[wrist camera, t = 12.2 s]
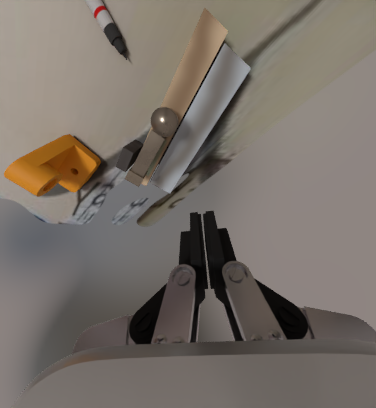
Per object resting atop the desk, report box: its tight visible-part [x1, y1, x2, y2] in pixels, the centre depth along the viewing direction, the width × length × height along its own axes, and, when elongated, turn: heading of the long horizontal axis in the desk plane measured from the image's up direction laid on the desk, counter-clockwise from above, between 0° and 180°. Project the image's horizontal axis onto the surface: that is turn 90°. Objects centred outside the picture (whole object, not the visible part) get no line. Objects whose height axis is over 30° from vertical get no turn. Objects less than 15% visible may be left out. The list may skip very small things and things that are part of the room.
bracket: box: [4, 134, 101, 196], centre depth 29 cm, size 11×7×12 cm
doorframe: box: [116, 8, 251, 193], centre depth 27 cm, size 12×28×7 cm, turn 148°
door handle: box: [125, 107, 178, 186], centre depth 26 cm, size 14×4×4 cm, turn 145°
